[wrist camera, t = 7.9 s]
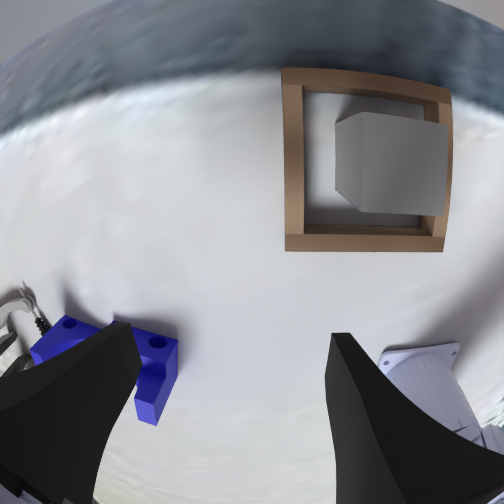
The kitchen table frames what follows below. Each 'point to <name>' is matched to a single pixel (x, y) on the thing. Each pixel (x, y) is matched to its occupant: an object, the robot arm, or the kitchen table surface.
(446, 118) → the brown square frame
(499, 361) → the kitchen table surface
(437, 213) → the grey block
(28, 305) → the bike brake
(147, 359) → the cable clip
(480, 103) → the kitchen table surface
